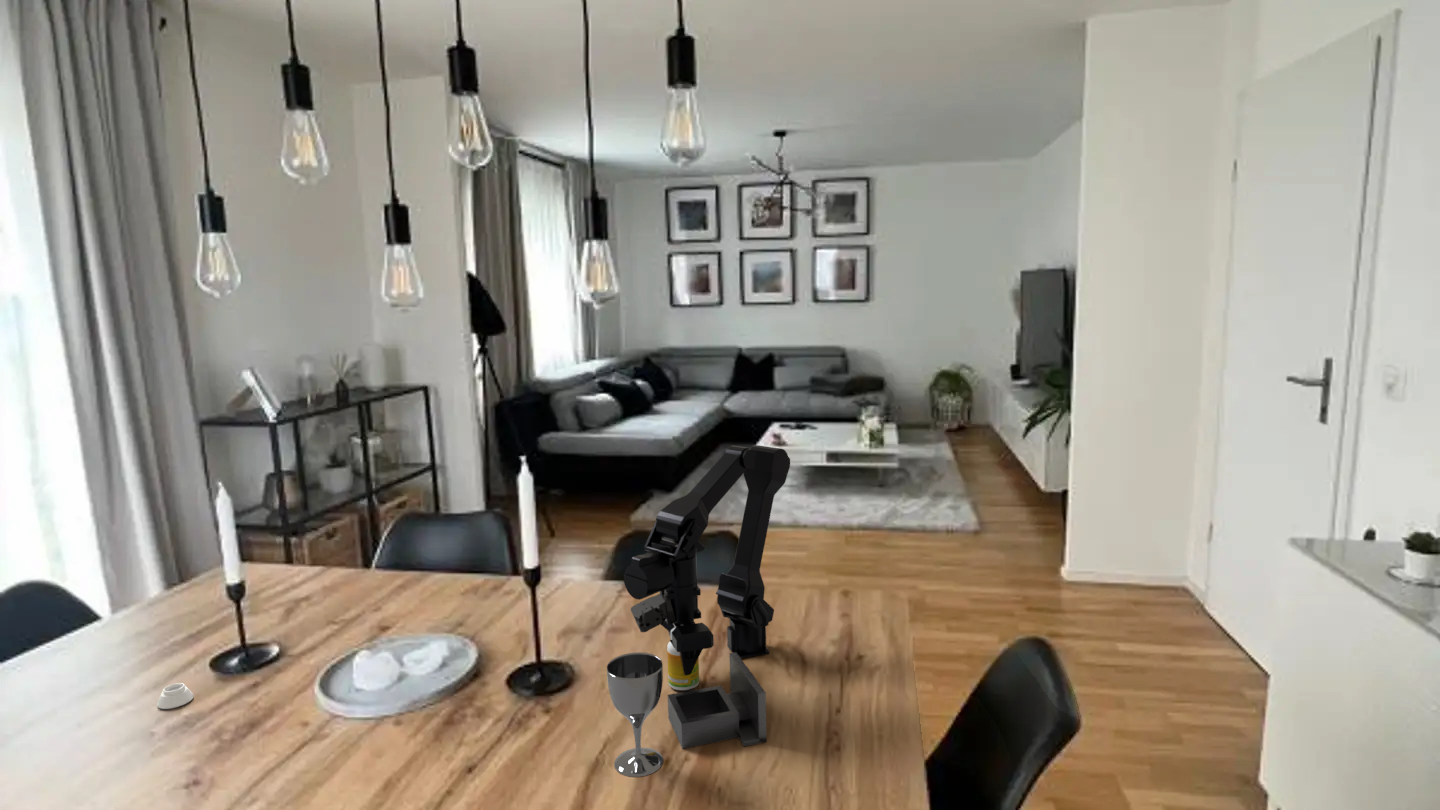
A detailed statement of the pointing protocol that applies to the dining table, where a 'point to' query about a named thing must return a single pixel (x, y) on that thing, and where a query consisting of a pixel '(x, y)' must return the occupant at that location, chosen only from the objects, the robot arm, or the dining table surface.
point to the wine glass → (636, 706)
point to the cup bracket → (721, 711)
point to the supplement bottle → (680, 670)
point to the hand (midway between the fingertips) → (683, 667)
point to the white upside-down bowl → (174, 696)
